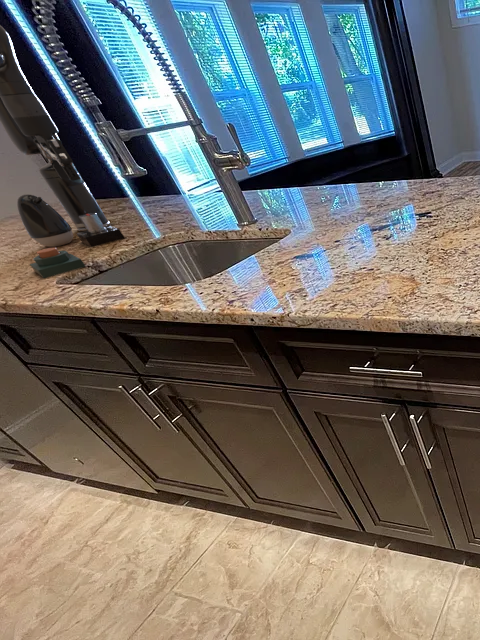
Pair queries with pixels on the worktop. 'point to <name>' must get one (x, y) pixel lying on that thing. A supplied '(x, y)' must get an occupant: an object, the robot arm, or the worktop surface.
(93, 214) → the faucet dial
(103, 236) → the faucet panel
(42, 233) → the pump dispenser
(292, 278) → the worktop surface
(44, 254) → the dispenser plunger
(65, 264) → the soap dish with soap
